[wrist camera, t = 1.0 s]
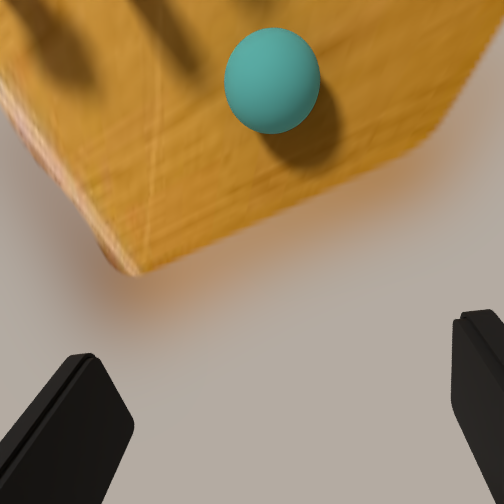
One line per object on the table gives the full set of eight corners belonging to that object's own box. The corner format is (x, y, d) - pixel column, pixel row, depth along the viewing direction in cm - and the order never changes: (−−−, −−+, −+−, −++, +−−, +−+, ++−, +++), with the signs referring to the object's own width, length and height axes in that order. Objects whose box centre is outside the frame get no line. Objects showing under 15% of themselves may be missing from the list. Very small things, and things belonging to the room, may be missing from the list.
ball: (298, 12, 23) (296, -2, 17) (330, 103, 25) (338, 115, 20) (218, 59, 24) (195, 59, 19) (255, 139, 27) (244, 159, 22)
